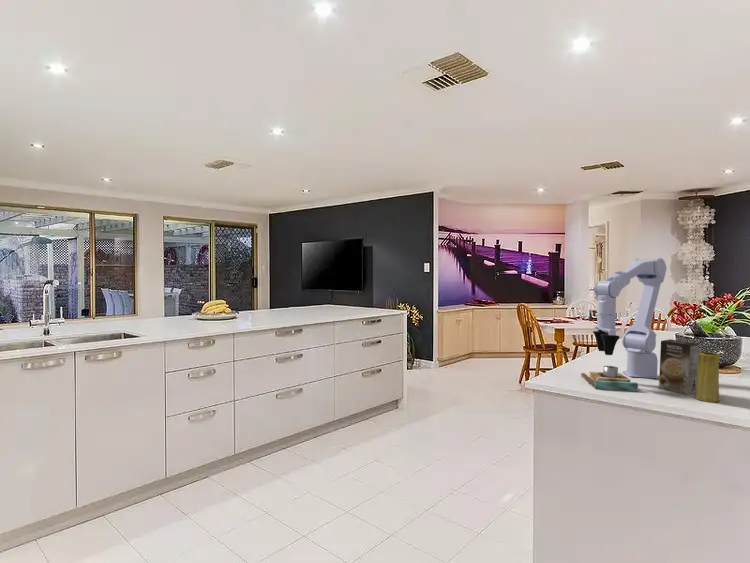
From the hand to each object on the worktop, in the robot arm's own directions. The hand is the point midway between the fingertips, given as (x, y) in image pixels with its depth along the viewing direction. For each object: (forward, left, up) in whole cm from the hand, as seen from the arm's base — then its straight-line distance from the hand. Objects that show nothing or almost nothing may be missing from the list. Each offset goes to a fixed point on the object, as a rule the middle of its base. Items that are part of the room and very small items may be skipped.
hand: (605, 353), depth 162 cm
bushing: (0, +5, -10) cm, 11 cm away
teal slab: (0, +4, -10) cm, 11 cm away
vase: (-24, +18, -10) cm, 32 cm away
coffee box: (-20, +8, -10) cm, 24 cm away
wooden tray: (0, +5, -10) cm, 11 cm away
